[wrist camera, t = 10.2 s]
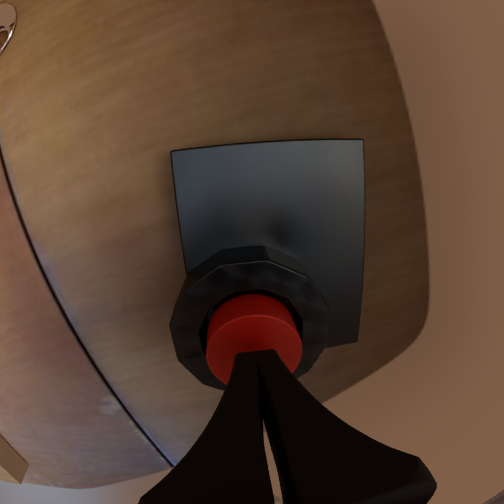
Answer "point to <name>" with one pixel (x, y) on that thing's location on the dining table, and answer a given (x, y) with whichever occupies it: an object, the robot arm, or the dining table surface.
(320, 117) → the dining table surface
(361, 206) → the box
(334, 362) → the dining table surface
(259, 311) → the cylinder
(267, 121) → the dining table surface
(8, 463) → the panel
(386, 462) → the robot arm
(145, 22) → the dining table surface
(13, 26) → the wineglass
